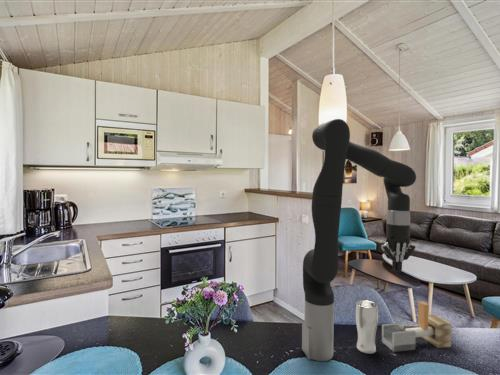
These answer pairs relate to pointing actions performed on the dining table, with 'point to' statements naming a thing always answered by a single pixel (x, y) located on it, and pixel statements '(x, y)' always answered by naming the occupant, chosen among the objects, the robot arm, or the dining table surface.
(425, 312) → the hammer
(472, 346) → the dining table surface
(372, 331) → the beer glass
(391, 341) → the gray u-shaped block
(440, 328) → the socket
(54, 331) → the dining table surface
